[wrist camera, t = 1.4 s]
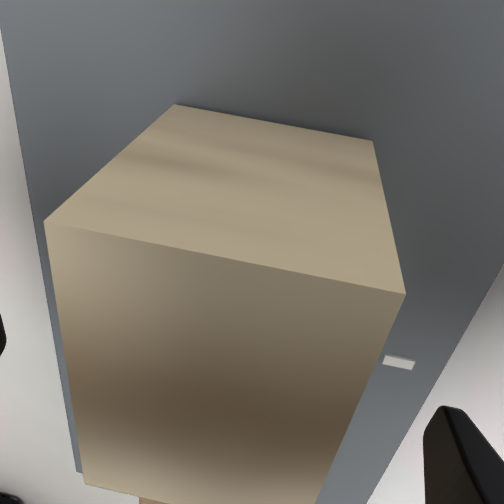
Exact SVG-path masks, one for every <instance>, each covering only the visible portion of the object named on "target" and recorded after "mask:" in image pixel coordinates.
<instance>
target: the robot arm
mask: <svg viewBox="0 0 504 504" xmlns="http://www.w3.org/2000/svg"><path fill="white" fill-rule="evenodd" d="M5 345H6V334H5V330H4V326H3V322H2V318H1V315H0V356H1V354H2V352H3V350H4V348H5ZM423 454H424V480H425V504H504V461H503V460H502V459H501V457H500V456H499V455H498V453H497V452H496V451H495V450H494V448H493V447H492V446H491V445H490V443H489V442H488V441H487V439H486V438H485V437H484V436H483V434H482V433H481V432H480V430H479V429H478V428H477V427H476V425H475V424H474V423H473V422H472V420H471V419H470V418H469V416H468V415H467V414H466V413H465V412H464V411H463V410H461V409H458V408H453V407H449V406H440V407H439V408H438V409H437V410H436V412H435V414H434V415H433V417H432V419H431V420H430V422H429V424H428V425H427V427H426V429H425V431H424V435H423ZM0 504H20V503H19V502H18V501H16V500H14V499H11V498H6V497H2V496H0Z"/></svg>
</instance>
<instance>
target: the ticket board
mask: <svg viewBox="0 0 504 504" xmlns="http://www.w3.org/2000/svg"><path fill="white" fill-rule="evenodd" d="M0 28H1V34H2V40H3V46H4V52H5V57H6V63H7V69H8V75H9V81H10V87H11V92H12V98H13V104H14V110H15V116H16V122H17V127H18V133H19V139H20V145H21V151H22V157H23V162H24V168H25V174H26V180H27V186H28V192H29V198H30V203H31V209H32V215H33V221H34V227H35V233H36V238H37V244H38V250H39V256H40V262H41V268H42V273H43V279H44V285H45V291H46V297H47V303H48V308H49V314H50V320H51V326H52V332H53V338H54V343H55V349H56V355H57V361H58V367H59V373H60V378H61V384H62V390H63V396H64V402H65V408H66V413H67V419H68V425H69V431H70V437H71V443H72V448H73V454H74V460H75V466H76V472H80V473H83V471H82V464H81V458H80V451H79V445H78V439H77V432H76V426H75V419H74V413H73V407H72V400H71V394H70V388H69V381H68V375H67V368H66V362H65V356H64V349H63V343H62V336H61V330H60V324H59V317H58V311H57V304H56V298H55V292H54V285H53V279H52V273H51V266H50V260H49V253H48V247H47V241H46V234H45V228H44V220H45V219H46V218H47V217H48V216H50V215H51V214H52V213H53V212H54V211H55V210H56V209H57V208H59V207H60V206H61V205H62V204H63V203H64V202H65V201H66V200H67V199H69V198H70V197H71V196H72V195H73V194H74V193H75V192H76V191H78V190H79V189H80V188H81V187H82V186H83V185H84V184H85V183H86V182H88V181H89V180H90V179H91V178H92V177H93V176H94V175H95V174H97V173H98V172H99V171H100V170H101V169H102V168H103V167H104V166H105V165H107V164H108V163H109V162H110V161H111V160H112V159H113V158H114V157H116V156H117V155H118V154H119V153H120V152H121V151H122V150H123V149H124V148H126V147H127V146H128V145H129V144H130V143H131V142H132V141H133V140H135V139H136V138H137V137H138V136H139V135H140V134H141V133H142V132H143V131H145V130H146V129H147V128H148V127H149V126H150V125H151V124H152V123H154V122H155V121H156V120H157V119H158V118H159V117H160V116H161V115H162V114H164V113H165V112H166V111H167V110H168V109H169V108H170V107H171V106H173V105H174V104H176V105H181V106H186V107H192V108H197V109H203V110H208V111H213V112H219V113H224V114H230V115H235V116H241V117H246V118H251V119H257V120H262V121H268V122H273V123H278V124H284V125H289V126H295V127H300V128H305V129H311V130H316V131H322V132H327V133H332V134H338V135H343V136H349V137H354V138H359V139H365V140H370V141H373V146H374V150H375V155H376V159H377V164H378V168H379V173H380V177H381V182H382V187H383V191H384V196H385V200H386V205H387V209H388V214H389V218H390V223H391V228H392V232H393V237H394V241H395V246H396V250H397V255H398V259H399V264H400V268H401V273H402V278H403V282H404V287H405V291H406V296H405V298H404V300H403V303H402V305H401V307H400V310H399V312H398V314H397V316H396V319H395V321H394V323H393V326H392V328H391V330H390V332H389V335H388V337H387V339H386V342H385V344H384V346H383V348H382V351H381V353H380V355H379V358H378V360H377V362H376V364H375V367H374V369H373V371H372V374H371V376H370V378H369V381H368V383H367V385H366V387H365V390H364V392H363V394H362V397H361V399H360V401H359V403H358V406H357V408H356V410H355V413H354V415H353V417H352V419H351V422H350V424H349V426H348V429H347V431H346V433H345V435H344V438H343V440H342V442H341V445H340V447H339V449H338V451H337V454H336V456H335V458H334V461H333V463H332V465H331V467H330V470H329V472H328V474H327V477H326V479H325V481H324V483H323V486H322V488H321V490H320V493H319V495H318V497H317V500H316V502H315V504H366V503H367V502H368V500H369V498H370V496H371V495H372V493H373V491H374V489H375V488H376V486H377V484H378V482H379V481H380V479H381V477H382V475H383V474H384V472H385V470H386V468H387V467H388V465H389V463H390V461H391V460H392V458H393V456H394V454H395V453H396V451H397V449H398V447H399V446H400V444H401V442H402V440H403V439H404V437H405V435H406V433H407V432H408V430H409V428H410V426H411V425H412V423H413V421H414V419H415V418H416V416H417V414H418V412H419V411H420V409H421V407H422V405H423V404H424V402H425V400H426V398H427V397H428V395H429V393H430V391H431V390H432V388H433V386H434V384H435V383H436V381H437V379H438V377H439V376H440V374H441V372H442V370H443V369H444V367H445V365H446V363H447V362H448V360H449V358H450V356H451V355H452V353H453V351H454V349H455V348H456V346H457V344H458V342H459V341H460V339H461V337H462V335H463V334H464V332H465V330H466V328H467V327H468V325H469V323H470V321H471V320H472V318H473V316H474V314H475V313H476V311H477V309H478V307H479V306H480V304H481V302H482V300H483V299H484V297H485V295H486V293H487V292H488V290H489V288H490V286H491V285H492V283H493V281H494V279H495V278H496V276H497V274H498V272H499V271H500V269H501V267H502V265H503V264H504V0H0ZM139 504H168V503H163V502H159V501H155V500H151V499H146V498H142V497H139Z"/></svg>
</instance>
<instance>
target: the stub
mask: <svg viewBox="0 0 504 504" xmlns="http://www.w3.org/2000/svg"><path fill="white" fill-rule="evenodd" d="M44 228H45V234H46V241H47V247H48V253H49V260H50V266H51V273H52V279H53V285H54V292H55V298H56V304H57V311H58V317H59V324H60V330H61V336H62V343H63V349H64V356H65V362H66V368H67V375H68V381H69V388H70V394H71V400H72V407H73V413H74V419H75V426H76V432H77V439H78V445H79V451H80V458H81V464H82V471H83V477H84V483H85V484H86V485H91V486H95V487H99V488H103V489H108V490H112V491H116V492H121V493H125V494H129V495H133V496H138V497H142V498H146V499H151V500H155V501H159V502H163V503H168V504H315V502H316V500H317V497H318V495H319V493H320V490H321V488H322V486H323V483H324V481H325V479H326V477H327V474H328V472H329V470H330V467H331V465H332V463H333V461H334V458H335V456H336V454H337V451H338V449H339V447H340V445H341V442H342V440H343V438H344V435H345V433H346V431H347V429H348V426H349V424H350V422H351V419H352V417H353V415H354V413H355V410H356V408H357V406H358V403H359V401H360V399H361V397H362V394H363V392H364V390H365V387H366V385H367V383H368V381H369V378H370V376H371V374H372V371H373V369H374V367H375V364H376V362H377V360H378V358H379V355H380V353H381V351H382V348H383V346H384V344H385V342H386V339H387V337H388V335H389V332H390V330H391V328H392V326H393V323H394V321H395V319H396V316H397V314H398V312H399V310H400V307H401V305H402V303H403V300H404V298H405V296H406V291H405V287H404V282H403V278H402V273H401V268H400V264H399V259H398V255H397V250H396V246H395V241H394V237H393V232H392V228H391V223H390V218H389V214H388V209H387V205H386V200H385V196H384V191H383V187H382V182H381V177H380V173H379V168H378V164H377V159H376V155H375V150H374V146H373V141H370V140H365V139H359V138H354V137H349V136H343V135H338V134H332V133H327V132H322V131H316V130H311V129H305V128H300V127H295V126H289V125H284V124H278V123H273V122H268V121H262V120H257V119H251V118H246V117H241V116H235V115H230V114H224V113H219V112H213V111H208V110H203V109H197V108H192V107H186V106H181V105H176V104H174V105H173V106H171V107H170V108H169V109H168V110H167V111H166V112H165V113H164V114H162V115H161V116H160V117H159V118H158V119H157V120H156V121H155V122H154V123H152V124H151V125H150V126H149V127H148V128H147V129H146V130H145V131H143V132H142V133H141V134H140V135H139V136H138V137H137V138H136V139H135V140H133V141H132V142H131V143H130V144H129V145H128V146H127V147H126V148H124V149H123V150H122V151H121V152H120V153H119V154H118V155H117V156H116V157H114V158H113V159H112V160H111V161H110V162H109V163H108V164H107V165H105V166H104V167H103V168H102V169H101V170H100V171H99V172H98V173H97V174H95V175H94V176H93V177H92V178H91V179H90V180H89V181H88V182H86V183H85V184H84V185H83V186H82V187H81V188H80V189H79V190H78V191H76V192H75V193H74V194H73V195H72V196H71V197H70V198H69V199H67V200H66V201H65V202H64V203H63V204H62V205H61V206H60V207H59V208H57V209H56V210H55V211H54V212H53V213H52V214H51V215H50V216H48V217H47V218H46V219H45V220H44Z"/></svg>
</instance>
